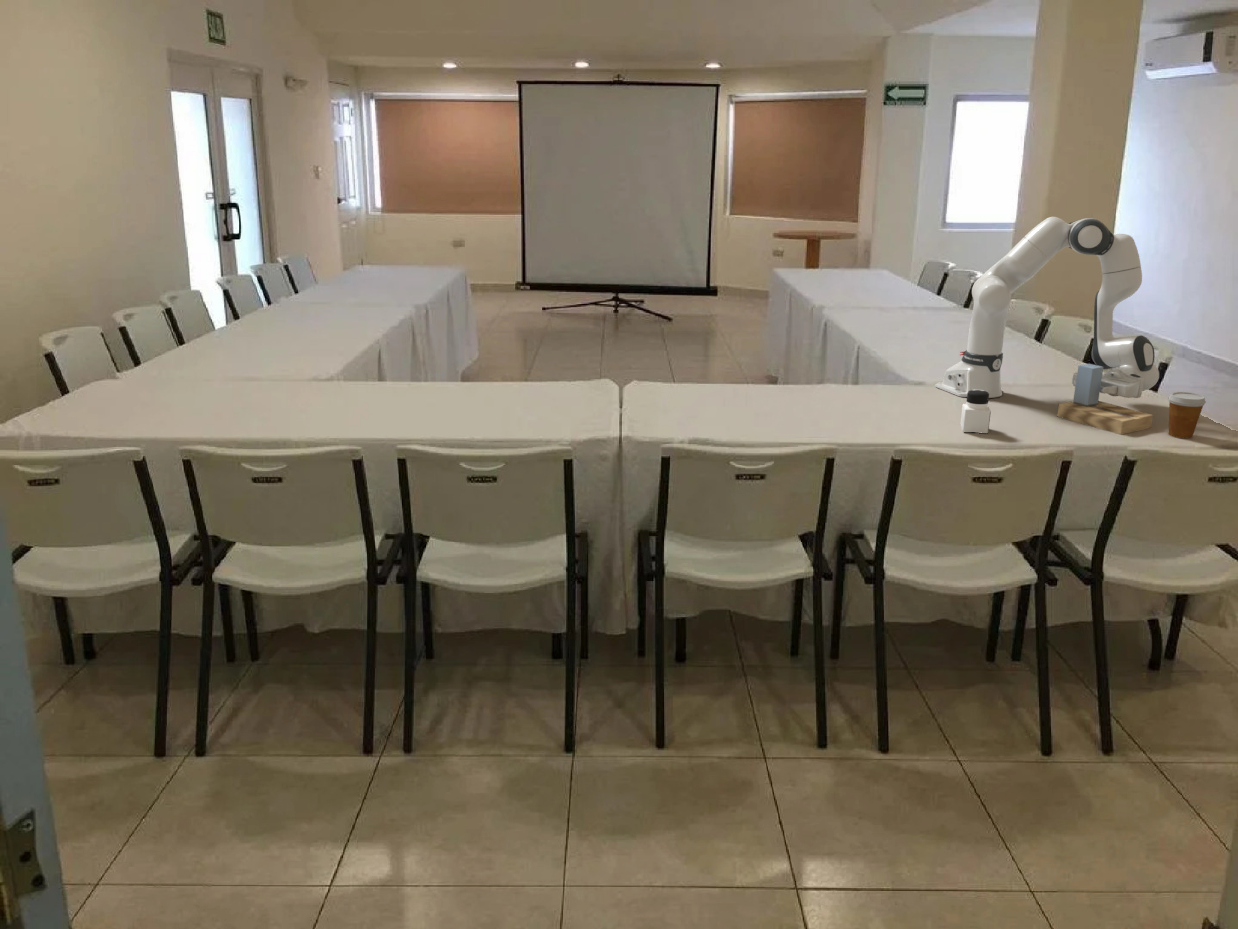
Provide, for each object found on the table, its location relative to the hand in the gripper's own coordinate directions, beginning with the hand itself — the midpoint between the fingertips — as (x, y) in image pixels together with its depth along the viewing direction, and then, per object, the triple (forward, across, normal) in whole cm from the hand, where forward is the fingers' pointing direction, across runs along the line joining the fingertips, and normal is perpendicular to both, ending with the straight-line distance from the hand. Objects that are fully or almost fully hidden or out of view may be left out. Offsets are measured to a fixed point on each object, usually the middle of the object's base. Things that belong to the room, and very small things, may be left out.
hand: (1088, 387), depth 311 cm
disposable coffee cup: (-7, +27, +10) cm, 30 cm away
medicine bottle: (+41, -6, +10) cm, 43 cm away
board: (0, +7, +9) cm, 12 cm away
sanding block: (0, 0, +5) cm, 5 cm away
